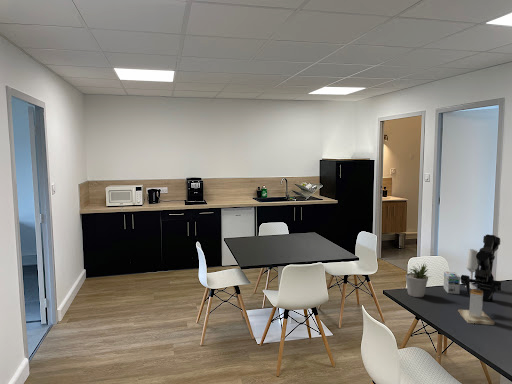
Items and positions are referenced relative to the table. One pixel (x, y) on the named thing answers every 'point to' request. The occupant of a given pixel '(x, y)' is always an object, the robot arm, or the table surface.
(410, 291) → the potted plant
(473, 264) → the champagne flute
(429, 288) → the table surface
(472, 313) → the aluminium block
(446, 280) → the light bulb box
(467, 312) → the birch board
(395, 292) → the table surface
